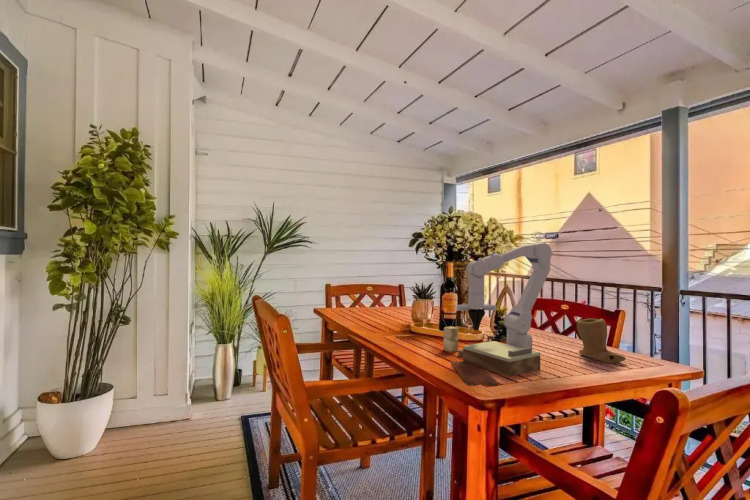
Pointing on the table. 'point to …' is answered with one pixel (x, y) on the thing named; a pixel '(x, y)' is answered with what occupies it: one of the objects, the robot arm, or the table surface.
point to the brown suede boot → (596, 341)
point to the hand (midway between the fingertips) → (476, 329)
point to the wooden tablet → (473, 374)
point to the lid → (502, 351)
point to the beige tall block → (450, 339)
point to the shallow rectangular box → (501, 363)
